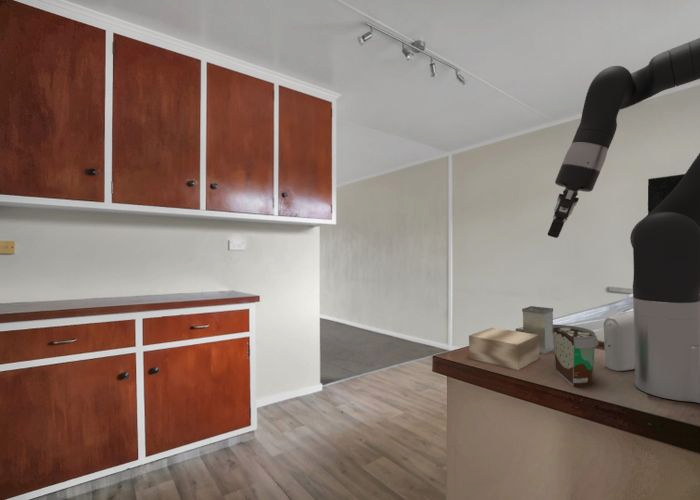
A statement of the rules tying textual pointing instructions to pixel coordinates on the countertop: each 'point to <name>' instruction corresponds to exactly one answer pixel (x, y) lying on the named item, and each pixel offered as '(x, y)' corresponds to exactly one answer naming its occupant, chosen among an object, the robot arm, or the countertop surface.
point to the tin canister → (539, 326)
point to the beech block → (504, 347)
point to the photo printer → (619, 341)
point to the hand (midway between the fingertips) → (552, 236)
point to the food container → (574, 353)
